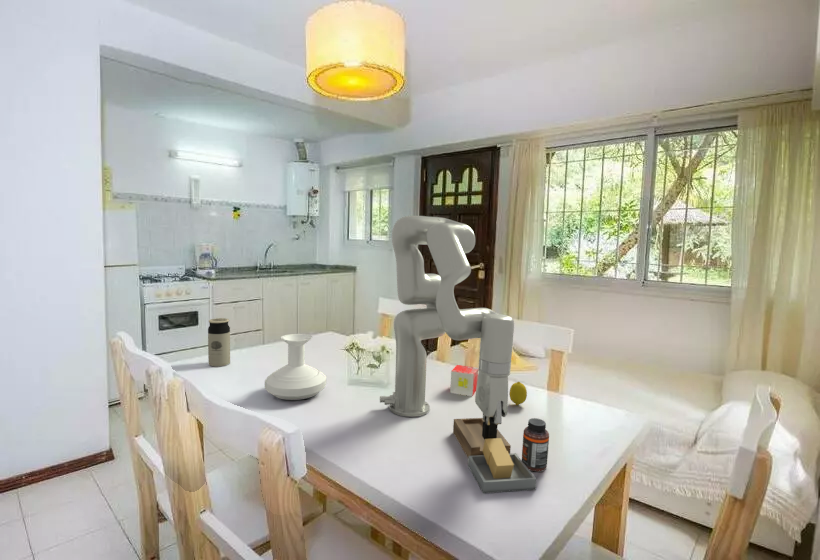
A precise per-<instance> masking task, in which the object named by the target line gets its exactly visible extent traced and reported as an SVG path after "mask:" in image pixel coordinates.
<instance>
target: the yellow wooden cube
mask: <svg viewBox="0 0 820 560" xmlns="http://www.w3.org/2000/svg"><path fill="white" fill-rule="evenodd" d="M488 465H489V467H490V470H491V473H492V475H493V478H494V479H497V478H511V474H512V470H513V467H514V464H513V462H512V460H511V457H510V455H509V453H508V451H496V452H491V455H490V459H489V463H488Z"/></svg>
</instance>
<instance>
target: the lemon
mask: <svg viewBox="0 0 820 560" xmlns="http://www.w3.org/2000/svg"><path fill="white" fill-rule="evenodd" d="M509 388H510V389H509V391H508V396H509V398H510V400H511V402H512V403H514V404H515V405H516V406H519V405H521V404H522V405H523V403H524V402H526V400H527V396H528V391H527V387H526V385H524V384H523V383H522V382H520V381H515V382H514V383H512V384H511V386H510V387H509Z"/></svg>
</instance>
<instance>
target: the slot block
mask: <svg viewBox="0 0 820 560" xmlns="http://www.w3.org/2000/svg"><path fill="white" fill-rule="evenodd" d="M452 426H453V429H452V430H453V431H452V434H453V435H454V437H455V439H456V440H457V442H458V444H459V446H460V447H461V449H462V451H463V452H464V454H465V456H466V458H467V459H468V456H475V455H484V454H483V447H484V442H485V440H484V438H483V437H482V428H483V417H474V418H473V417H471V418H454V419H453V425H452ZM497 438H501V439H502V441H503V444H504V446H505V448H506V450H507V451H508V453H509V454H511V447H512V445H511V444H510V443H509V442H508V441H507V439H506V438H505V437H504V435H503V434H502V433H501V432H500V431H499V430H498V428H497Z"/></svg>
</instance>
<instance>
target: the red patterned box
mask: <svg viewBox="0 0 820 560" xmlns="http://www.w3.org/2000/svg"><path fill="white" fill-rule="evenodd" d="M478 369H479V367H475V366H474V367H473V366H468V365H460V364H457V365H455V366H454V367H453V368H452V370H451V372H450V387H449V388H450V390H449V394H450V393H451V394H455V395H460V394H461V395H462V396H466V395H467V396H468V397H472V396H475V394H476V386H477V379H478V373H479V370H478Z"/></svg>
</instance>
